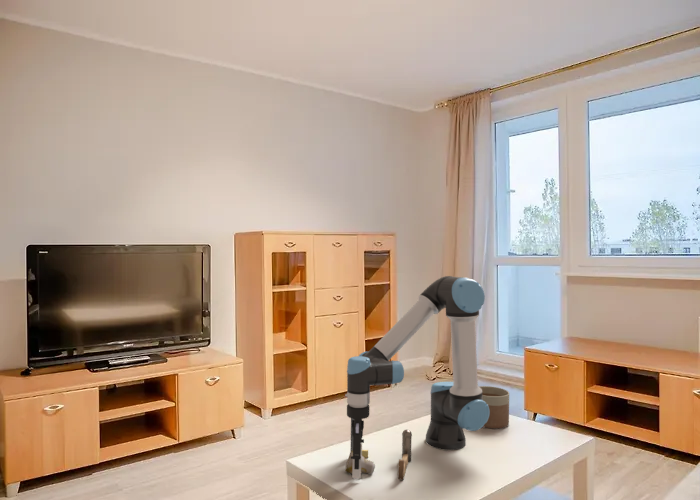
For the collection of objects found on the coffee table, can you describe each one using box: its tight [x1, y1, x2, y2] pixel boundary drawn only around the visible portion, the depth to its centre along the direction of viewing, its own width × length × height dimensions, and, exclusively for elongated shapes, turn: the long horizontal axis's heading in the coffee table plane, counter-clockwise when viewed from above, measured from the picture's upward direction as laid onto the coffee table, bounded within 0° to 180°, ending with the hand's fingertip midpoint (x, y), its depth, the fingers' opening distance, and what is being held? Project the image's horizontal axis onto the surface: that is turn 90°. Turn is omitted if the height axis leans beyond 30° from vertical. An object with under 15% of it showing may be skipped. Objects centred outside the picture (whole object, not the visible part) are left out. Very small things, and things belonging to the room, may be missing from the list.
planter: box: [478, 385, 510, 429], centre depth 222 cm, size 16×16×14 cm
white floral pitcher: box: [344, 451, 376, 475], centre depth 172 cm, size 8×10×10 cm
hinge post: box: [401, 429, 413, 464], centre depth 182 cm, size 3×3×11 cm
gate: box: [397, 454, 409, 481], centre depth 173 cm, size 14×2×6 cm, turn 167°
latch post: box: [349, 418, 369, 459], centre depth 183 cm, size 6×4×15 cm, turn 87°
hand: (357, 470), depth 172 cm, fingers open, 11 cm apart
